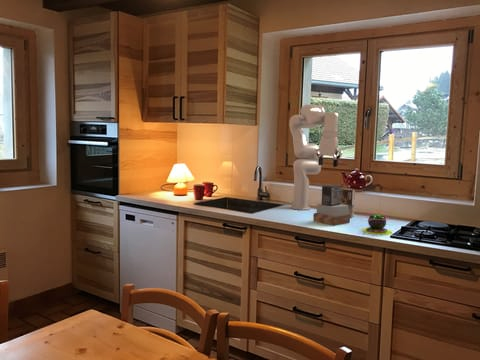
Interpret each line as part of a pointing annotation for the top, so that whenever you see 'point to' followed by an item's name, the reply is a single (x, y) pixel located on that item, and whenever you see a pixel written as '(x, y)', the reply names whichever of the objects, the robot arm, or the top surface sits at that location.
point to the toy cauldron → (377, 225)
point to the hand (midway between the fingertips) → (327, 166)
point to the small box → (331, 195)
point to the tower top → (333, 210)
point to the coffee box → (348, 200)
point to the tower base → (331, 219)
